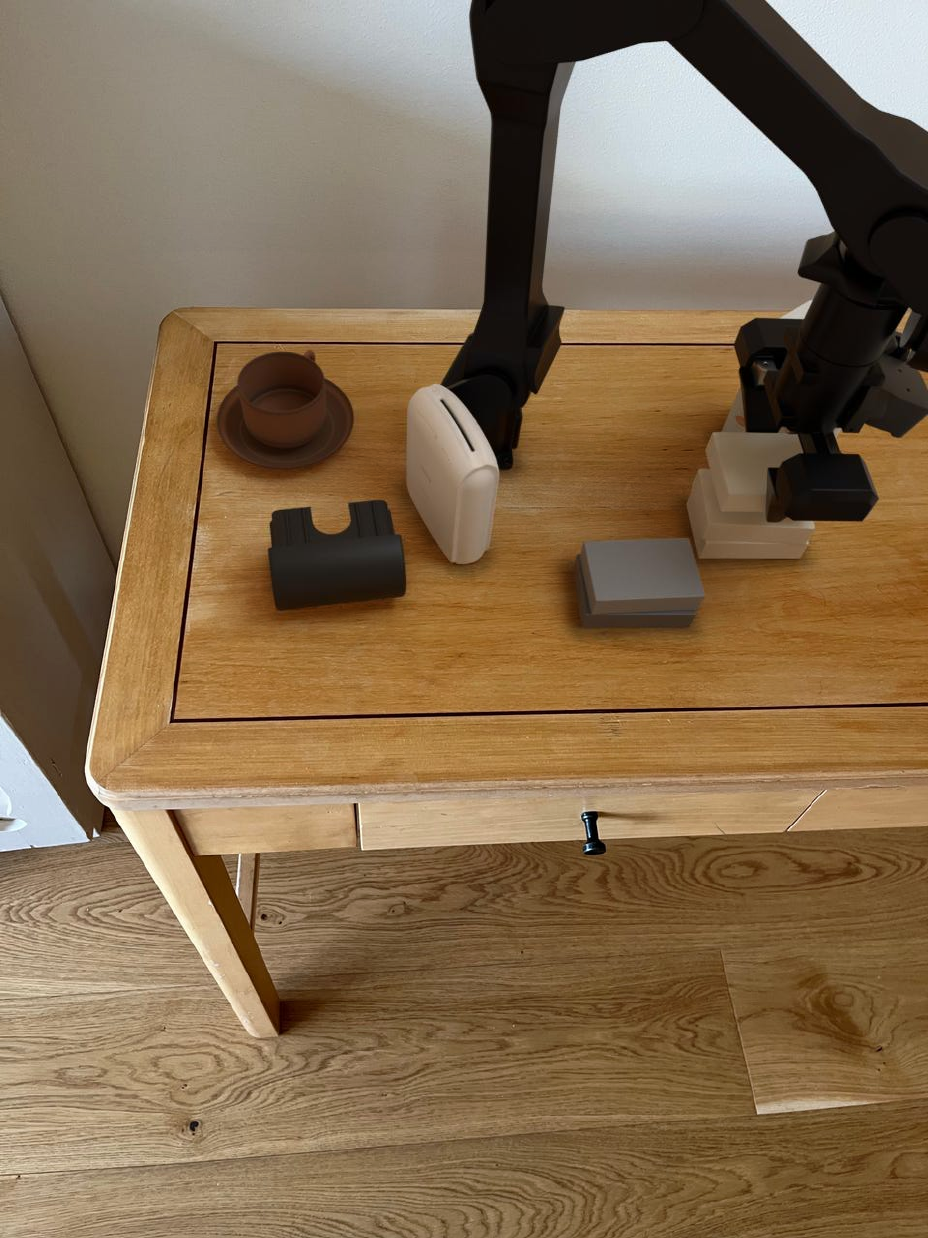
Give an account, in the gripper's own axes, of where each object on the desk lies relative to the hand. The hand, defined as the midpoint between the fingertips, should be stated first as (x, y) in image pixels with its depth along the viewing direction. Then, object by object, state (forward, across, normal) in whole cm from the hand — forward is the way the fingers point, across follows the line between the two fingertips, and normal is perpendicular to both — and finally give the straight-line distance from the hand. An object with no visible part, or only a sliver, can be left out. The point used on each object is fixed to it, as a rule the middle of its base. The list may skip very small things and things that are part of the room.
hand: (763, 488), depth 77 cm
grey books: (+6, -7, +11) cm, 14 cm away
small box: (+6, +10, -5) cm, 13 cm away
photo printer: (+6, +1, +26) cm, 27 cm away
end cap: (+6, -6, +35) cm, 36 cm away
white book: (-1, 0, 0) cm, 1 cm away
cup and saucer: (+6, +11, +40) cm, 42 cm away
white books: (+6, 0, 0) cm, 6 cm away
